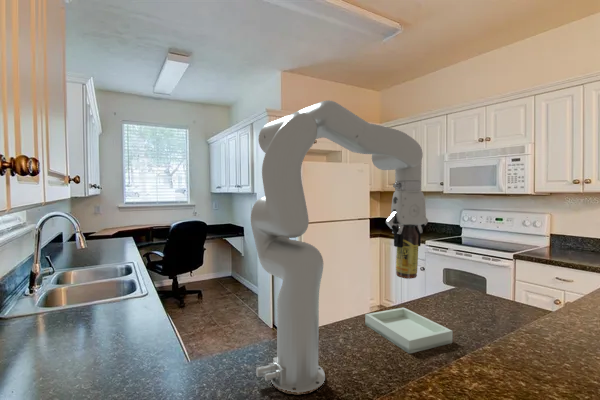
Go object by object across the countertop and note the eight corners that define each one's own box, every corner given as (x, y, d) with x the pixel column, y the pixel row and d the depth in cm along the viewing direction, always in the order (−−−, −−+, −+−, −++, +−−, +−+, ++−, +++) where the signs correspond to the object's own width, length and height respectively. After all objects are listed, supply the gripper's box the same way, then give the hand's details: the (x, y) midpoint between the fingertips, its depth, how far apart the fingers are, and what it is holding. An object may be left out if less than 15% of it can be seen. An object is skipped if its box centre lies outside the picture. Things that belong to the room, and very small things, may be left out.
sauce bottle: (391, 275, 97) (392, 211, 97) (407, 273, 99) (408, 211, 99) (405, 280, 91) (406, 212, 91) (422, 278, 93) (423, 212, 93)
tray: (409, 353, 83) (409, 340, 83) (365, 324, 101) (365, 314, 101) (452, 342, 89) (452, 330, 89) (403, 317, 108) (403, 307, 108)
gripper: (393, 186, 88) (392, 250, 88) (438, 187, 95) (438, 246, 95) (377, 187, 95) (376, 246, 95) (420, 188, 102) (419, 242, 102)
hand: (407, 245), depth 95 cm, fingers closed on sauce bottle, 6 cm apart
